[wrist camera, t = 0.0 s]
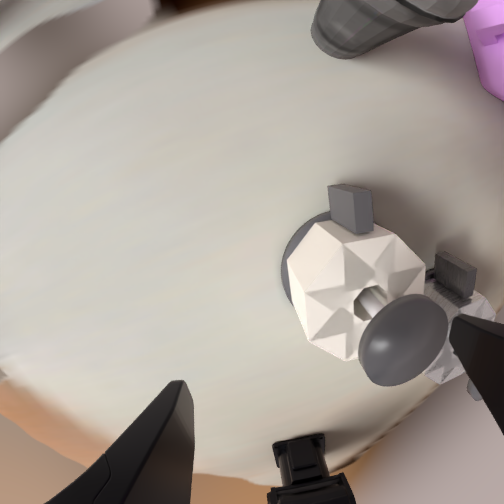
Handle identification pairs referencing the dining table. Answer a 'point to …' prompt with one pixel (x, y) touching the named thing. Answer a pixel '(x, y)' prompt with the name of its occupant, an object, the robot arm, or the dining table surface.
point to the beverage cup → (377, 22)
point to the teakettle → (488, 43)
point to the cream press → (345, 270)
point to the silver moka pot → (453, 307)
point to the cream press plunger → (400, 337)
